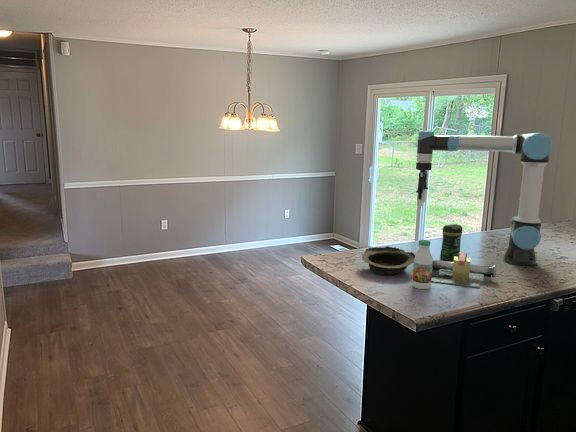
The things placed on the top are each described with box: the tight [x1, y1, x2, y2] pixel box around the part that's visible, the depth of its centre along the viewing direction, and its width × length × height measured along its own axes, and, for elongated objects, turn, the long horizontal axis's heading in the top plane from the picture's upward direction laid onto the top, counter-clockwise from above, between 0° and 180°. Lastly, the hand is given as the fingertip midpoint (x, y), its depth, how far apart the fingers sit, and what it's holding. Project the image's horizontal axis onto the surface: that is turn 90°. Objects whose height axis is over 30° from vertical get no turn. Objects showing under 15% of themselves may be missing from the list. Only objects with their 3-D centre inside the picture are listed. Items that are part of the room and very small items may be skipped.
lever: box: [458, 251, 468, 266], centre depth 204 cm, size 16×4×3 cm, turn 158°
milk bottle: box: [411, 239, 434, 290], centre depth 196 cm, size 8×8×20 cm
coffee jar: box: [439, 223, 463, 262], centre depth 236 cm, size 10×8×19 cm
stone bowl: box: [361, 245, 416, 276], centre depth 218 cm, size 25×25×9 cm
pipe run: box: [431, 256, 497, 289], centre depth 209 cm, size 32×22×8 cm
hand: (421, 203), depth 238 cm, fingers open, 13 cm apart
